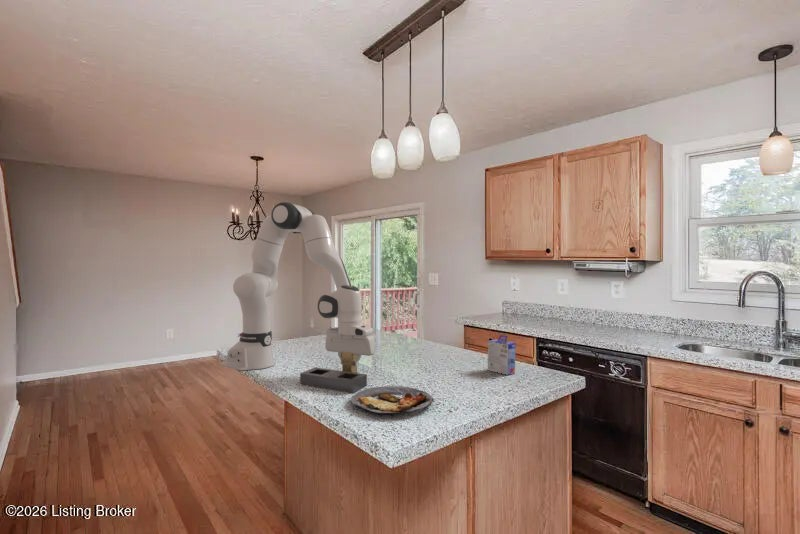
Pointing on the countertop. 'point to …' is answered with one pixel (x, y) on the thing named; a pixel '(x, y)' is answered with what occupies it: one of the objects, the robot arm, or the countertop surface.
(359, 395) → the food plate
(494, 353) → the ink cartridge box
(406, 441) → the countertop surface
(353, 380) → the grey peg hole block
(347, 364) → the square peg
